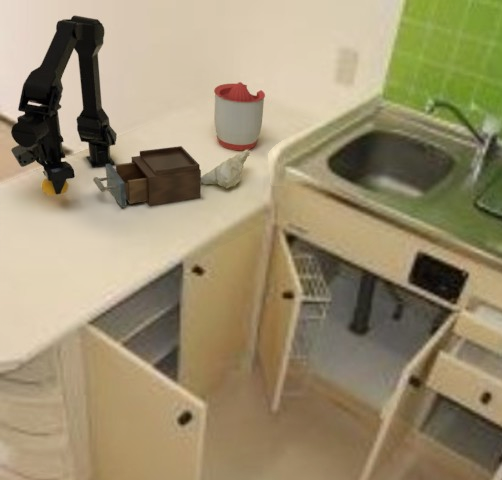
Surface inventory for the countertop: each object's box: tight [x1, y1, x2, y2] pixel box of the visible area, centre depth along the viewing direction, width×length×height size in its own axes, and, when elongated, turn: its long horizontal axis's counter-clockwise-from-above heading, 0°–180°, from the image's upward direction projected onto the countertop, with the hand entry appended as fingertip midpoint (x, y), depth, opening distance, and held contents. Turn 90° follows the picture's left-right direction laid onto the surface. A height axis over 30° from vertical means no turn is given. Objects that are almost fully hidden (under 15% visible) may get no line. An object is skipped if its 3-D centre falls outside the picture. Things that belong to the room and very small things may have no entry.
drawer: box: [92, 161, 149, 208], centre depth 169 cm, size 18×12×7 cm, turn 122°
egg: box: [40, 177, 69, 196], centre depth 163 cm, size 6×4×4 cm
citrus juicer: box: [213, 81, 266, 152], centre depth 203 cm, size 16×17×20 cm
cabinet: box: [131, 155, 202, 207], centre depth 174 cm, size 14×13×8 cm
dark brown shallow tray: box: [139, 145, 200, 176], centre depth 172 cm, size 12×12×2 cm
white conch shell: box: [201, 149, 251, 189], centre depth 184 cm, size 15×7×15 cm
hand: (55, 189), depth 164 cm, fingers closed on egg, 4 cm apart
